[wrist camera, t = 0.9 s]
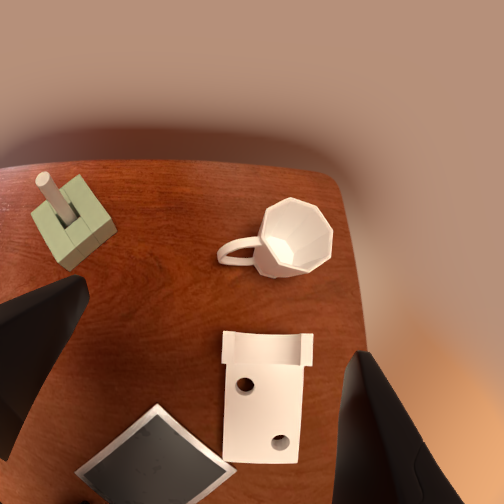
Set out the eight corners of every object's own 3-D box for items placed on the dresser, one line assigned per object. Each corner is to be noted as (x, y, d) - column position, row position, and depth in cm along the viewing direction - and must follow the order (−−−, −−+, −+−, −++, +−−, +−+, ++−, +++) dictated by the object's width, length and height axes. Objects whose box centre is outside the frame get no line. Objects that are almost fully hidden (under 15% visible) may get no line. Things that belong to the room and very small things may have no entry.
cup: (305, 285, 32) (343, 266, 24) (218, 299, 29) (233, 283, 22) (292, 227, 34) (323, 195, 26) (207, 235, 31) (218, 200, 23)
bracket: (231, 335, 29) (223, 330, 22) (299, 337, 29) (313, 333, 22) (226, 449, 25) (217, 477, 18) (292, 451, 25) (303, 479, 18)
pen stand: (69, 272, 26) (57, 263, 22) (42, 226, 26) (30, 213, 23) (117, 231, 28) (111, 218, 25) (87, 189, 29) (79, 173, 26)
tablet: (152, 529, 18) (151, 533, 17) (76, 469, 19) (73, 473, 18) (235, 467, 24) (237, 470, 23) (157, 401, 24) (156, 403, 23)
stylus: (75, 236, 27) (38, 189, 17) (70, 228, 27) (33, 178, 17) (85, 229, 27) (51, 178, 18) (79, 220, 28) (46, 168, 18)
